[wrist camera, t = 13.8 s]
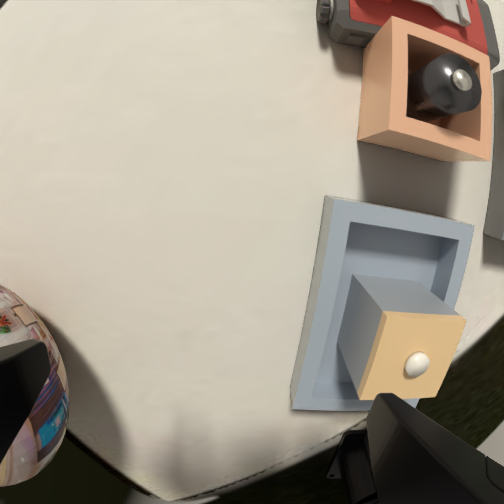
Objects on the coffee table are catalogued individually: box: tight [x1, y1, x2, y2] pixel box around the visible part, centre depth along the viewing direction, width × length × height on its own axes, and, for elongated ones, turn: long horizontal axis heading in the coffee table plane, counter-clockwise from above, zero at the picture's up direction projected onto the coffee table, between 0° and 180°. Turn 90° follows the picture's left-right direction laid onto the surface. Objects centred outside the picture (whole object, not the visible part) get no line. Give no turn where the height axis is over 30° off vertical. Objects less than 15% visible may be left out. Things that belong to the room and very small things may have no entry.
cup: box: [357, 16, 492, 161], centre depth 14 cm, size 6×6×5 cm
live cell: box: [337, 274, 466, 400], centre depth 16 cm, size 4×4×6 cm
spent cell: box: [406, 53, 482, 122], centre depth 13 cm, size 3×3×6 cm
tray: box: [290, 196, 474, 411], centre depth 18 cm, size 13×9×2 cm
